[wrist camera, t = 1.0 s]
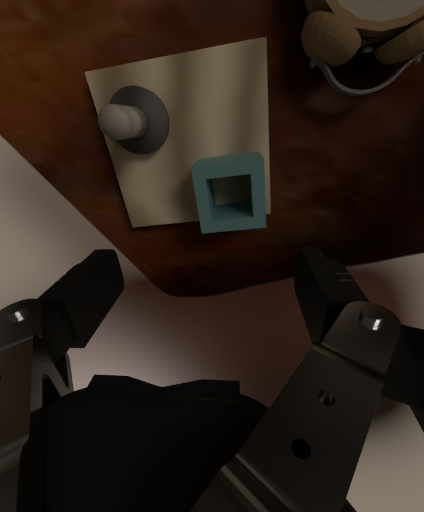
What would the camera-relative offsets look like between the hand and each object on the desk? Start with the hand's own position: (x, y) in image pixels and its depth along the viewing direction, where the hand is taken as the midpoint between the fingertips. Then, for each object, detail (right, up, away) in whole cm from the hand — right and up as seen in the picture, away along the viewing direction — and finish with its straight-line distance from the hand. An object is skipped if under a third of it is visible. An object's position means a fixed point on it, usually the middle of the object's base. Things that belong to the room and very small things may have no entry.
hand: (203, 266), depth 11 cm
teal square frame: (+2, +8, +15) cm, 17 cm away
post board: (-2, +12, +15) cm, 19 cm away
